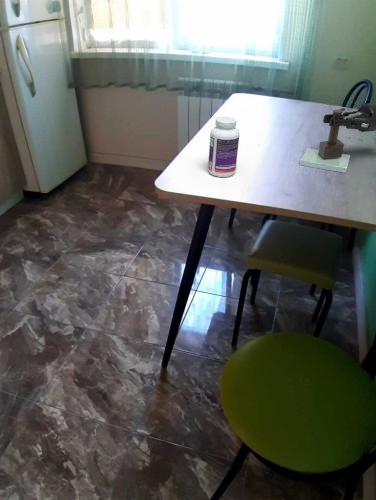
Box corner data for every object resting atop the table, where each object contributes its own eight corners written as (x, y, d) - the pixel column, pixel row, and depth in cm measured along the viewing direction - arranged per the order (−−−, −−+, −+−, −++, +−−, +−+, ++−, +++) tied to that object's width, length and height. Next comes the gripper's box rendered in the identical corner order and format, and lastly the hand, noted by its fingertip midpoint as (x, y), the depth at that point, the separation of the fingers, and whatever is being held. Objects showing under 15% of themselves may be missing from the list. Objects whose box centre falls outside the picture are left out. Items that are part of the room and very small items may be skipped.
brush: (336, 152, 130) (344, 107, 121) (341, 157, 127) (350, 111, 118) (317, 154, 130) (325, 110, 121) (322, 159, 127) (330, 114, 118)
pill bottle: (240, 173, 121) (247, 119, 111) (224, 180, 116) (229, 126, 106) (218, 165, 124) (223, 113, 114) (202, 172, 120) (205, 119, 110)
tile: (349, 159, 132) (350, 155, 131) (345, 173, 124) (347, 168, 123) (305, 152, 135) (306, 147, 134) (299, 165, 127) (300, 160, 126)
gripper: (365, 97, 127) (317, 99, 122) (395, 110, 117) (344, 113, 113) (357, 123, 132) (311, 126, 128) (386, 137, 123) (336, 142, 118)
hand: (327, 120), depth 120 cm, fingers closed on brush, 2 cm apart
